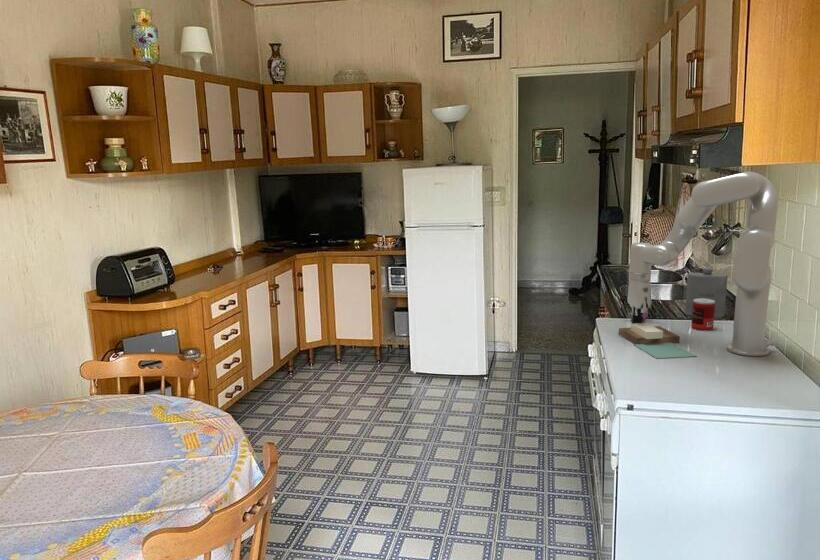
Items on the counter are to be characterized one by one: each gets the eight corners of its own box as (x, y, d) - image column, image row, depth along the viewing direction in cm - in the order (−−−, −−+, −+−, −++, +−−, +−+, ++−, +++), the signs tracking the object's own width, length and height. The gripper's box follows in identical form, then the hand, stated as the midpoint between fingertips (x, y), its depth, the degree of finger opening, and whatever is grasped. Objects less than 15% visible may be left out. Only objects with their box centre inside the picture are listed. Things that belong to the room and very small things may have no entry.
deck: (659, 332, 238) (659, 326, 238) (679, 342, 225) (679, 336, 224) (618, 334, 237) (619, 328, 236) (636, 345, 223) (636, 338, 222)
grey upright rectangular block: (685, 316, 262) (688, 268, 259) (684, 313, 268) (687, 266, 264) (725, 318, 257) (729, 270, 254) (723, 315, 263) (727, 268, 259)
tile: (646, 329, 234) (646, 322, 233) (662, 338, 222) (663, 331, 221) (630, 330, 233) (631, 323, 232) (646, 339, 221) (646, 332, 221)
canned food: (713, 327, 245) (715, 299, 243) (712, 331, 238) (714, 303, 236) (692, 324, 249) (693, 297, 247) (690, 329, 242) (692, 301, 240)
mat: (671, 343, 224) (671, 342, 224) (696, 356, 209) (696, 355, 209) (633, 345, 223) (633, 344, 223) (656, 358, 207) (656, 358, 207)
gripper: (659, 280, 224) (656, 330, 228) (639, 272, 239) (637, 320, 242) (639, 280, 223) (636, 331, 227) (620, 273, 238) (618, 320, 241)
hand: (636, 325), depth 235 cm, fingers closed
